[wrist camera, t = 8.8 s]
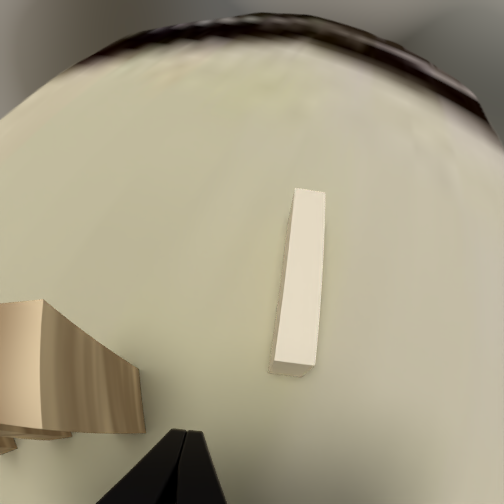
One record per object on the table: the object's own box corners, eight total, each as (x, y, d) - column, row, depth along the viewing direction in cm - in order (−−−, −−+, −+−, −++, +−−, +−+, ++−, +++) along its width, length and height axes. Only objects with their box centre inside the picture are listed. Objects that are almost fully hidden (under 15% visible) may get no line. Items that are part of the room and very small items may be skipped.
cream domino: (300, 377, 18) (313, 228, 24) (314, 365, 15) (325, 192, 20) (267, 373, 18) (287, 223, 24) (274, 360, 15) (295, 187, 20)
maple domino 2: (138, 369, 18) (43, 299, 8) (145, 432, 16) (42, 429, 6) (109, 371, 18) (-1, 303, 8) (114, 433, 16) (-6, 422, 6)
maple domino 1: (58, 378, 17) (-63, 317, 7) (72, 436, 15) (-58, 418, 6) (36, 383, 16) (-85, 327, 7) (48, 440, 15) (-81, 420, 5)
